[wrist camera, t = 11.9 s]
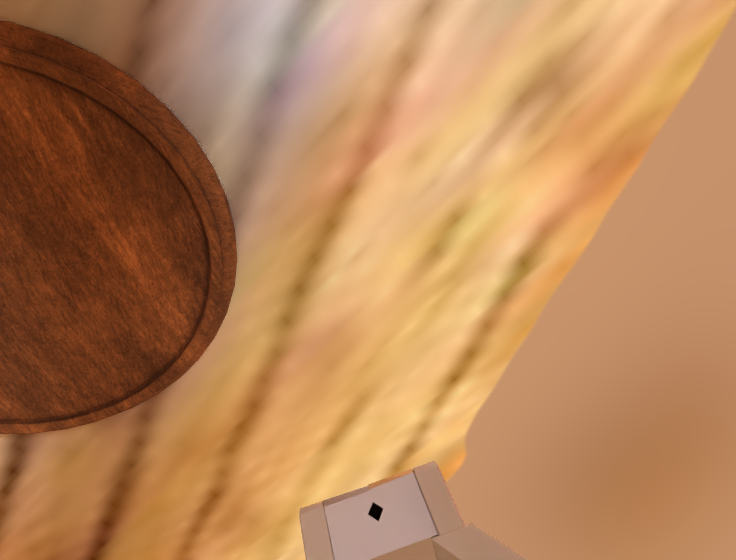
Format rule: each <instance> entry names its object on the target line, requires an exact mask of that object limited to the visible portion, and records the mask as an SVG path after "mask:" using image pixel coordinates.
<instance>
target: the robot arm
mask: <svg viewBox="0 0 736 560" xmlns="http://www.w3.org/2000/svg"><path fill="white" fill-rule="evenodd" d="M299 518H300V524H301V531H302V537H303V544H304V550H305V557H306V560H528V559H526V558H525V557H523V556H521V555H520V554H518V553H517V552H515V551H514V550H512V549H511V548H509V547H508V546H506V545H505V544H503V543H501V542H500V541H498V540H497V539H495V538H494V537H492V536H491V535H489V534H487V533H486V532H485V531H483V530H481V529H480V528H478V527H477V526H475V525H474V524H472V523H471V524H468V525H465V524H464V522H463V520H462V518H461V515H460V513H459V511H458V509H457V507H456V504H455V502H454V500H453V498H452V495H451V493H450V491H449V489H448V487H447V485H446V482H445V480H444V478H443V476H442V473H441V471H440V469H439V467H438V465H437V464H436V463H435V462H434V461H432V462H430V463H427V464H424V465H421V466H419V467H416V468H413V469H409V470H406V471H404V472H401V473H398V474H396V475H393V476H390V477H388V478H385V479H382V480H380V481H377V482H374V483H372V484H369V485H368V486H366V487H363V488H360V489H357V490H354V491H351V492H348V493H345V494H342V495H339V496H336V497H333V498H330V499H327V500H324V501H321V502H318V503H315V504H313V505H310V506H307V507H304V508H301V509H300V514H299Z"/></svg>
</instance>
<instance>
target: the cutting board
mask: <svg viewBox="0 0 736 560" xmlns="http://www.w3.org/2000/svg"><path fill="white" fill-rule="evenodd" d="M236 265H237V251H236V238H235V227H234V223H233V220H232V216H231V212H230V208H229V204H228V200H227V197H226V195H225V192H224V190H223V188H222V186H221V183H220V181H219V179H218V177H217V174H216V172H215V170H214V168H213V166H212V165H211V163H210V161H209V160H208V158H207V157H206V155H205V154H204V152H203V151H202V149H201V147H200V146H199V144H198V143H197V141H196V140H195V138H194V137H193V136H192V135H191V133H190V132H189V131H188V130H187V129H186V128H185V127H184V125H183V124H182V123H181V122H180V121H179V120H178V119H177V117H176V116H175V115H174V114H173V113H172V112H171V111H170V109H169V108H167V107H166V106H165V105H164V104H163V103H162V102H161V101H159V100H158V99H157V98H156V97H155V96H154V95H152V94H151V93H150V92H149V91H148V90H147V89H145V88H144V87H143V86H142V85H141V84H140V83H138V82H137V81H136V80H134V79H133V78H131V77H130V76H128V75H127V74H125V73H123V72H122V71H120V70H119V69H117V68H116V67H114V66H113V65H111V64H110V63H108V62H107V61H105V60H103V59H102V58H100V57H98V56H96V55H94V54H92V53H90V52H88V51H86V50H84V49H82V48H79V47H77V46H75V45H73V44H71V43H69V42H67V41H65V40H62V39H60V38H58V37H55V36H52V35H49V34H46V33H43V32H40V31H37V30H33V29H30V28H27V27H24V26H21V25H18V24H15V23H11V22H5V21H0V434H17V433H39V432H47V431H55V430H63V429H68V428H72V427H76V426H80V425H85V424H89V423H93V422H96V421H99V420H102V419H104V418H107V417H109V416H112V415H115V414H117V413H120V412H123V411H125V410H128V409H130V408H133V407H134V406H136V405H138V404H140V403H142V402H144V401H146V400H148V399H149V398H151V397H153V396H155V395H157V394H158V393H160V392H161V391H163V390H164V389H165V388H167V387H168V386H169V385H171V384H172V383H174V382H175V381H176V380H178V379H179V378H180V377H181V376H182V375H183V374H184V373H185V372H186V371H187V370H188V369H189V368H190V367H191V366H192V365H193V364H194V363H195V362H196V361H197V360H198V359H199V358H200V357H201V356H202V354H203V353H204V351H205V350H206V349H207V347H208V346H209V345H210V343H211V342H212V340H213V339H214V338H215V336H216V334H217V332H218V330H219V328H220V326H221V324H222V322H223V320H224V318H225V316H226V313H227V310H228V307H229V303H230V300H231V296H232V293H233V289H234V285H235V275H236Z"/></svg>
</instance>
